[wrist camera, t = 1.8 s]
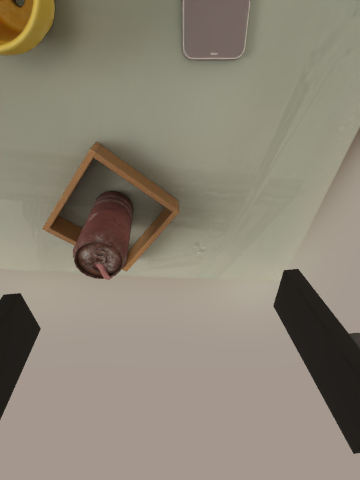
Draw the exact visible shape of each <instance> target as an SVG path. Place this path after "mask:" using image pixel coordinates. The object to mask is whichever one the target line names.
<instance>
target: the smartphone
mask: <svg viewBox="0 0 360 480" xmlns="http://www.w3.org/2000/svg"><path fill="white" fill-rule="evenodd" d="M249 8H250V0H182V32H183V52H184V55H185V56H186V57H187V58H188V59H192V60H205V59H237V58H239V57H240V56H241V55H242V54H243V52H244V50H245V44H246V35H247V26H248V17H249Z"/></svg>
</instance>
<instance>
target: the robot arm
mask: <svg viewBox="0 0 360 480" xmlns="http://www.w3.org/2000/svg"><path fill="white" fill-rule="evenodd" d="M274 308H275V310H276V312H277V313H278V315H279V317H280V319H281V321H282V322H283V324H284V326H285V328H286V330H287V332H288V334H289V335H290V337H291V339H292V341H293V343H294V345H295V346H296V348H297V350H298V352H299V354H300V356H301V358H302V359H303V361H304V363H305V365H306V367H307V369H308V370H309V372H310V374H311V376H312V378H313V380H314V382H315V383H316V385H317V387H318V389H319V391H320V393H321V394H322V396H323V398H324V400H325V402H326V404H327V405H328V407H329V409H330V411H331V413H332V415H333V417H334V418H335V420H336V422H337V424H338V426H339V428H340V429H341V431H342V433H343V435H344V437H345V439H346V441H347V442H348V444H349V446H350V448H351V450H352V452H353V453H354V454H355V453H360V333H352V334H348V332H347V331H346V330H345V329H344V327H343V326H342V325H341V323H340V322H339V321H338V319H337V318H336V317H335V316H334V314H333V313H332V312H331V311H330V309H329V308H328V307H327V305H326V304H325V303H324V302H323V300H322V299H321V298H320V297H319V295H318V294H317V293H316V291H315V290H314V289H313V288H312V286H311V285H310V284H309V282H308V281H307V280H306V278H305V277H304V276H303V275H302V273H301V272H300V271H299V269H293V270H284V272H283V275H282V279H281V282H280V286H279V289H278V292H277V296H276V299H275V303H274ZM39 331H40V327H39V325H38V323H37V321H36V320H35V318H34V316H33V315H32V313H31V311H30V309H29V307H28V306H27V304H26V302H25V301H24V299H23V297H22V295H21V294H20V293H18V294H7V295H3V297H2V298H1V300H0V419H1V417H2V415H3V412H4V410H5V408H6V406H7V403H8V401H9V399H10V397H11V394H12V392H13V390H14V388H15V385H16V383H17V381H18V379H19V376H20V374H21V372H22V369H23V367H24V365H25V363H26V361H27V358H28V356H29V354H30V352H31V349H32V347H33V345H34V342H35V340H36V338H37V336H38V334H39Z"/></svg>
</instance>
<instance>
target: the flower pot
mask: <svg viewBox="0 0 360 480" xmlns="http://www.w3.org/2000/svg"><path fill="white" fill-rule="evenodd" d="M54 16H55V3H54V0H25V1H24V5H23V6H22V7H19V6H17V5H16V4H15V2H14V1H13V0H0V55H17V54H21V53H25V52H27V51H29V50H31V49H33V48H34V47H35V46H37V45H38V44H39V43H40V42H41V40H42V39H43V38H44V36H45V35H46V33H47V32H48V31H49V30H50V28H51V26H52V24H53V21H54Z"/></svg>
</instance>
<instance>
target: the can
mask: <svg viewBox="0 0 360 480" xmlns="http://www.w3.org/2000/svg"><path fill="white" fill-rule="evenodd" d="M132 216H133V205H132V203H131V201H130V200H129V199H128V198H127V197H126V196H125V195H123V194H121V193H119V192H114V191H110V192H105V193H103V194H101V195H100V196H99V197H98V198H97V199H96V201H95V203H94V205H93V208H92V210H91V212H90V214H89V216H88V218H87V221H86V223H85V225H84V227H83V229H82V231H81V234H80V236H79V238H78V240H77V242H76V245H75V247H74V249H73V258H74V262H75V264H76V267H77V268H78V269H79V270H80V271H81V272H82V273H84V274H85V275H87V276H90V277H93V278H98V279H104V278H105V279H108V280H109V279H111V278H112V276H115V275H116V274H117V273H119V272H120V270H121V269H122V268H123V267H124V266H125V264H126V261H127V253H128V246H129V239H130V231H131V224H132Z"/></svg>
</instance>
